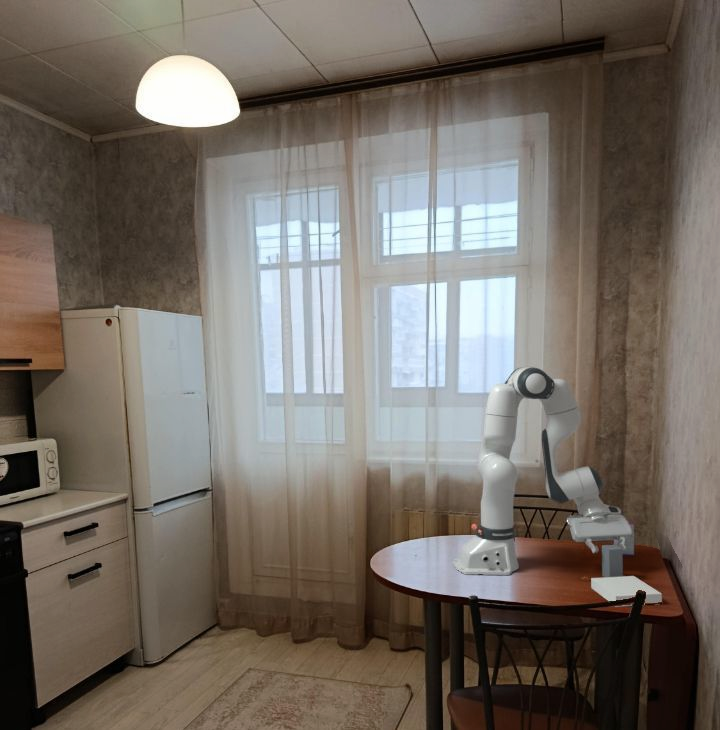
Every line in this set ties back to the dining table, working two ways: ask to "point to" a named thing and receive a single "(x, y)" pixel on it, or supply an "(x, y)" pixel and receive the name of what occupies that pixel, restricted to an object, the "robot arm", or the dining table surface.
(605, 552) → the grey rectangular block
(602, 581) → the plinth
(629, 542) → the supplement box
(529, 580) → the dining table surface
